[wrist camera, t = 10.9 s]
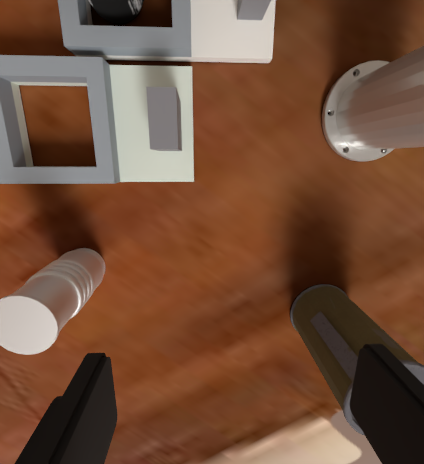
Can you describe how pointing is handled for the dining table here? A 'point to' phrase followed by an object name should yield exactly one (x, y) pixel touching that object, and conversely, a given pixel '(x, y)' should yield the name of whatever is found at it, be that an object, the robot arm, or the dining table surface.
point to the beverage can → (117, 9)
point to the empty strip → (138, 123)
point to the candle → (49, 301)
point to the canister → (341, 339)
